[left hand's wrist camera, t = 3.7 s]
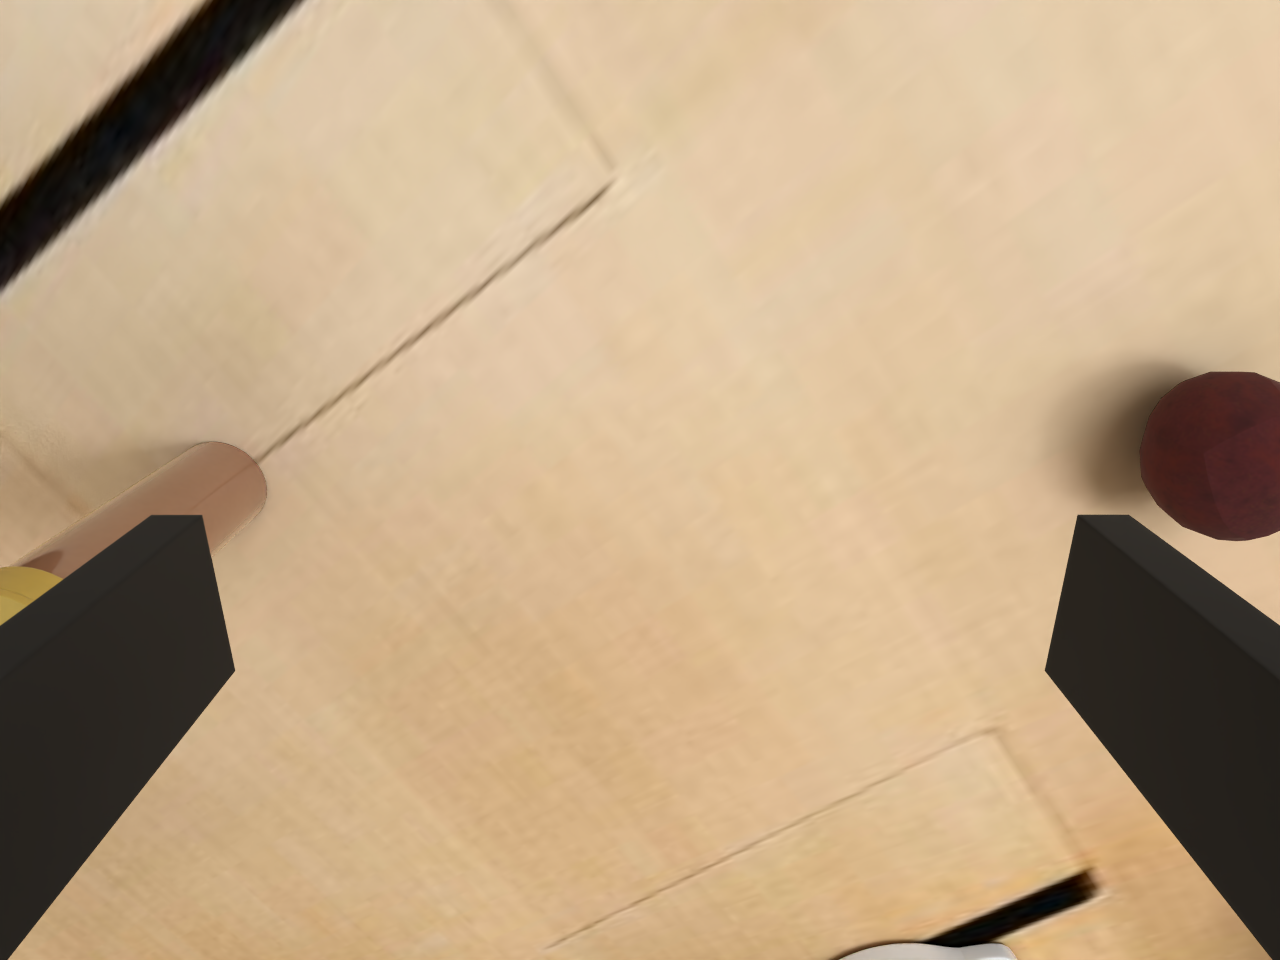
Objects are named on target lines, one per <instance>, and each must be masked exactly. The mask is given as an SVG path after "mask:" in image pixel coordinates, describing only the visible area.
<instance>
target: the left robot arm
mask: <svg viewBox="0 0 1280 960" xmlns="http://www.w3.org/2000/svg"><path fill="white" fill-rule="evenodd" d="M234 671H235V668H234V663H233V658H232V653H231V649H230V644H229V639H228V634H227V630H226V625H225V620H224V615H223V611H222V606H221V601H220V596H219V592H218V587H217V582H216V577H215V573H214V568H213V563H212V558H211V554H210V549H209V544H208V539H207V535H206V530H205V525H204V520H203V516H202V515H150V516H149V517H148V518H146V519H145V520H144V521H142V522H141V523H139V524H138V525H137V526H135V527H134V528H133V529H131V530H130V531H129V532H127V533H126V534H124V535H123V536H122V537H120V538H119V539H118V540H116V541H115V542H114V543H112V544H111V545H109V546H108V547H107V548H105V549H104V550H103V551H101V552H100V553H99V554H97V555H96V556H94V557H93V558H92V559H90V560H89V561H88V562H86V563H85V564H84V565H82V566H81V567H79V568H78V569H77V570H75V571H74V572H73V573H71V574H70V575H69V576H67V577H66V578H64V579H63V580H62V581H60V582H59V583H58V584H56V585H55V586H54V587H52V588H51V589H49V590H48V591H47V592H45V593H44V594H43V595H41V596H40V597H39V598H37V599H36V600H34V601H33V602H32V603H30V604H29V605H28V606H26V607H25V608H24V609H22V610H21V611H19V612H18V613H17V614H15V615H14V616H13V617H11V618H10V619H9V620H7V621H6V622H4V623H3V624H2V625H0V960H8V958H9V957H10V956H11V955H12V953H13V952H14V951H15V950H16V948H17V947H18V946H19V944H20V943H21V942H22V941H23V939H24V938H25V937H26V936H27V934H28V933H29V932H30V931H31V929H32V928H33V927H34V925H35V924H36V923H37V922H38V920H39V919H40V918H41V917H42V915H43V914H44V913H45V911H46V910H47V909H48V908H49V906H50V905H51V904H52V903H53V901H54V900H55V899H56V897H57V896H58V895H59V894H60V892H61V891H62V890H63V889H64V887H65V886H66V885H67V884H68V882H69V881H70V880H71V878H72V877H73V876H74V875H75V873H76V872H77V871H78V870H79V868H80V867H81V866H82V864H83V863H84V862H85V861H86V859H87V858H88V857H89V856H90V854H91V853H92V852H93V851H94V849H95V848H96V847H97V845H98V844H99V843H100V842H101V840H102V839H103V838H104V837H105V835H106V834H107V833H108V831H109V830H110V829H111V828H112V826H113V825H114V824H115V823H116V821H117V820H118V819H119V817H120V816H121V815H122V814H123V812H124V811H125V810H126V809H127V807H128V806H129V805H130V804H131V802H132V801H133V800H134V798H135V797H136V796H137V795H138V793H139V792H140V791H141V790H142V788H143V787H144V786H145V784H146V783H147V782H148V781H149V779H150V778H151V777H152V776H153V774H154V773H155V772H156V771H157V769H158V768H159V767H160V765H161V764H162V763H163V762H164V760H165V759H166V758H167V757H168V755H169V754H170V753H171V751H172V750H173V749H174V748H175V746H176V745H177V744H178V743H179V741H180V740H181V739H182V737H183V736H184V735H185V734H186V732H187V731H188V730H189V729H190V727H191V726H192V725H193V724H194V722H195V721H196V720H197V718H198V717H199V716H200V715H201V713H202V712H203V711H204V710H205V708H206V707H207V706H208V704H209V703H210V702H211V701H212V699H213V698H214V697H215V696H216V694H217V693H218V692H219V691H220V689H221V688H222V687H223V685H224V684H225V683H226V682H227V680H228V679H229V678H230V677H231V675H232V674H233V673H234ZM1045 671H1046V673H1047V674H1048V675H1049V677H1050V678H1051V679H1052V680H1053V682H1054V683H1055V684H1056V685H1057V687H1058V688H1059V689H1060V691H1061V692H1062V693H1063V694H1064V696H1065V697H1066V698H1067V699H1068V701H1069V702H1070V703H1071V704H1072V706H1073V707H1074V708H1075V710H1076V711H1077V712H1078V713H1079V715H1080V716H1081V717H1082V718H1083V720H1084V721H1085V722H1086V724H1087V725H1088V726H1089V727H1090V729H1091V730H1092V731H1093V732H1094V734H1095V735H1096V736H1097V737H1098V739H1099V740H1100V741H1101V743H1102V744H1103V745H1104V746H1105V748H1106V749H1107V750H1108V751H1109V753H1110V754H1111V755H1112V757H1113V758H1114V759H1115V760H1116V762H1117V763H1118V764H1119V765H1120V767H1121V768H1122V769H1123V771H1124V772H1125V773H1126V774H1127V776H1128V777H1129V778H1130V779H1131V781H1132V782H1133V783H1134V784H1135V786H1136V787H1137V788H1138V790H1139V791H1140V792H1141V793H1142V795H1143V796H1144V797H1145V798H1146V800H1147V801H1148V802H1149V804H1150V805H1151V806H1152V807H1153V809H1154V810H1155V811H1156V812H1157V814H1158V815H1159V816H1160V817H1161V819H1162V820H1163V821H1164V823H1165V824H1166V825H1167V826H1168V828H1169V829H1170V830H1171V831H1172V833H1173V834H1174V835H1175V837H1176V838H1177V839H1178V840H1179V842H1180V843H1181V844H1182V845H1183V847H1184V848H1185V849H1186V851H1187V852H1188V853H1189V854H1190V856H1191V857H1192V858H1193V859H1194V861H1195V862H1196V863H1197V864H1198V866H1199V867H1200V868H1201V870H1202V871H1203V872H1204V873H1205V875H1206V876H1207V877H1208V878H1209V880H1210V881H1211V882H1212V884H1213V885H1214V886H1215V887H1216V889H1217V890H1218V891H1219V892H1220V894H1221V895H1222V896H1223V898H1224V899H1225V900H1226V901H1227V903H1228V904H1229V905H1230V906H1231V908H1232V909H1233V910H1234V911H1235V913H1236V914H1237V915H1238V917H1239V918H1240V919H1241V920H1242V922H1243V923H1244V924H1245V925H1246V927H1247V928H1248V929H1249V931H1250V932H1251V933H1252V934H1253V936H1254V937H1255V938H1256V939H1257V941H1258V942H1259V943H1260V944H1261V946H1262V947H1263V948H1264V950H1265V951H1266V952H1267V953H1268V955H1269V956H1270V957H1271V958H1272V960H1280V625H1278V624H1277V623H1276V622H1274V621H1273V620H1271V619H1270V618H1269V617H1267V616H1266V615H1265V614H1263V613H1262V612H1261V611H1259V610H1258V609H1256V608H1255V607H1254V606H1252V605H1251V604H1250V603H1248V602H1247V601H1246V600H1244V599H1243V598H1241V597H1240V596H1239V595H1237V594H1236V593H1235V592H1233V591H1232V590H1231V589H1229V588H1228V587H1226V586H1225V585H1224V584H1222V583H1221V582H1220V581H1218V580H1217V579H1216V578H1214V577H1213V576H1211V575H1210V574H1209V573H1207V572H1206V571H1205V570H1203V569H1202V568H1201V567H1199V566H1198V565H1196V564H1195V563H1194V562H1192V561H1191V560H1190V559H1188V558H1187V557H1186V556H1184V555H1183V554H1181V553H1180V552H1179V551H1177V550H1176V549H1175V548H1173V547H1172V546H1171V545H1169V544H1168V543H1166V542H1165V541H1164V540H1162V539H1161V538H1160V537H1158V536H1157V535H1156V534H1154V533H1153V532H1151V531H1150V530H1149V529H1147V528H1146V527H1145V526H1143V525H1142V524H1141V523H1139V522H1138V521H1136V520H1135V519H1134V518H1132V517H1131V516H1130V515H1078V516H1077V520H1076V525H1075V530H1074V535H1073V539H1072V544H1071V549H1070V554H1069V558H1068V563H1067V568H1066V573H1065V577H1064V582H1063V587H1062V592H1061V596H1060V601H1059V606H1058V611H1057V615H1056V620H1055V625H1054V630H1053V634H1052V639H1051V644H1050V649H1049V653H1048V658H1047V663H1046V667H1045Z"/></svg>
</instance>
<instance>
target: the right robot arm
mask: <svg viewBox="0 0 1280 960" xmlns="http://www.w3.org/2000/svg"><path fill="white" fill-rule="evenodd" d="M839 960H1018V959H1017V958H1016V956H1015V955H1014V953H1013V952H1012V950H1011V949H1010V948H1009V947H1007V946H1005V945H1003V944H995V943H993V944H981V945H974V946H967V947H961V948H952V947H943V946H936V945H929V944H919V943H901V944H890V945H883V946H877V947H873V948H869V949H865V950H862V951H859V952H856V953H853V954H851V955H848V956H846V957H844V958H841V959H839Z"/></svg>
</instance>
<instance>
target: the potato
mask: <svg viewBox="0 0 1280 960" xmlns="http://www.w3.org/2000/svg"><path fill="white" fill-rule="evenodd" d="M1140 463H1141V477H1142V479H1143V481H1144V483H1145V486H1146V488H1147V489H1148V491H1149V492H1150V494H1151V495H1152V497H1153V499H1154V500H1155V502H1156V503H1157V505H1158V506H1159V507H1160V508H1162V509H1163V510H1164V511H1165V512H1166V513H1167V514H1168V515H1169V516H1170V517H1172V518H1173V519H1174V520H1175V521H1176V522H1178V523H1179V524H1180V525H1181V526H1182V527H1185V528H1188V529H1190V530H1193V531H1195V532H1198V533H1201V534H1204V535H1206V536H1209V537H1212V538H1215V539H1217V540H1229V541H1246V540H1252V539H1256V538H1261V537H1265V536H1269V535H1271V534H1273V533H1276V532H1278V531H1280V382H1277V381H1275V380H1272V379H1270V378H1267V377H1265V376H1262V375H1260V374H1257V373H1254V372H1208V373H1206V374H1203V375H1200V376H1197V377H1194V378H1191V379H1189V380H1186V381H1183V382H1181V383H1180V384H1178V385H1177V386H1176V387H1174V388H1173V389H1172V390H1171V391H1169V392H1168V393H1167V394H1166V395H1165V396H1163V397H1162V398H1161V400H1160V401H1159V403H1158V404H1157V406H1156V407H1155V409H1154V410H1153V412H1152V413H1151V415H1150V416H1149V419H1148V423H1147V426H1146V429H1145V433H1144V436H1143V440H1142V443H1141V447H1140Z"/></svg>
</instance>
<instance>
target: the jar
mask: <svg viewBox="0 0 1280 960" xmlns="http://www.w3.org/2000/svg"><path fill="white" fill-rule="evenodd" d="M266 495H267V487H266V482H265V478H264V476H263V473H262V471H261V470H260V468H259V466H258V465H257V464H256V462H255V461H254V460H253V459H252V458H251V457H250V456H248V455H247V454H246V453H245V452H243V451H242V450H240V449H238V448H236V447H234V446H231V445H229V444H225V443H219V442H207V443H201V444H198V445H196V446H193V447H192V448H190V449H188V450H187V451H185V452H184V453H182V454H181V455H179V456H178V457H176V458H175V459H173V460H171V461H170V462H168V463H167V464H165V465H164V466H162V467H161V468H159V469H158V470H156V471H154V472H153V473H151V474H150V475H148V476H147V477H145V478H144V479H142V480H141V481H139V482H138V483H136V484H134V485H133V486H131V487H130V488H128V489H127V490H125V491H124V492H122V493H121V494H119V495H117V496H116V497H114V498H113V499H111V500H110V501H108V502H107V503H105V504H104V505H102V506H101V507H99V508H97V509H96V510H94V511H93V512H91V513H90V514H88V515H87V516H85V517H84V518H82V519H80V520H79V521H77V522H76V523H74V524H73V525H71V526H70V527H68V528H67V529H65V530H64V531H62V532H60V533H59V534H57V535H56V536H54V537H53V538H51V539H50V540H48V541H47V542H45V543H43V544H42V545H40V546H39V547H37V548H36V549H34V550H33V551H31V552H30V553H28V554H27V555H25V556H23V557H22V558H20V559H19V560H17V561H16V562H14V563H13V564H11V565H10V566H8V567H12V566H16V567H29V568H35V569H39V570H43V571H46V572H49V573H52V574H54V575H56V576H58V577H60V578H62V579H64V578H66V577H67V576H69V575H70V574H71V573H73V572H74V571H75V570H77V569H78V568H79V567H81V566H82V565H84V564H85V563H86V562H88V561H89V560H90V559H92V558H93V557H94V556H96V555H97V554H99V553H100V552H101V551H103V550H104V549H105V548H107V547H108V546H109V545H111V544H112V543H114V542H115V541H116V540H118V539H119V538H120V537H122V536H123V535H124V534H126V533H127V532H129V531H130V530H131V529H133V528H134V527H135V526H137V525H138V524H139V523H141V522H142V521H144V520H145V519H146V518H148V517H149V516H150V515H202V516H203V520H204V525H205V530H206V535H207V539H208V544H209V549H210V554H211V558H212V557H213V556H214V555H215V554H216V553H217V552H218V551H219V550H220V549H221V548H222V547H223V546H225V545H226V544H227V543H228V542H229V541H230V540H231V539H232V538H233V537H234V536H235V535H236V534H237V533H238V532H240V531H241V530H242V529H243V528H244V527H245V526H246V525H247V524H248V523H249V522H250V521H251V520H252V519H253V518H254V517H256V516H257V514H258V513H259V512H260V511H261V509H262V508H263V506H264V504H265V500H266Z"/></svg>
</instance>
